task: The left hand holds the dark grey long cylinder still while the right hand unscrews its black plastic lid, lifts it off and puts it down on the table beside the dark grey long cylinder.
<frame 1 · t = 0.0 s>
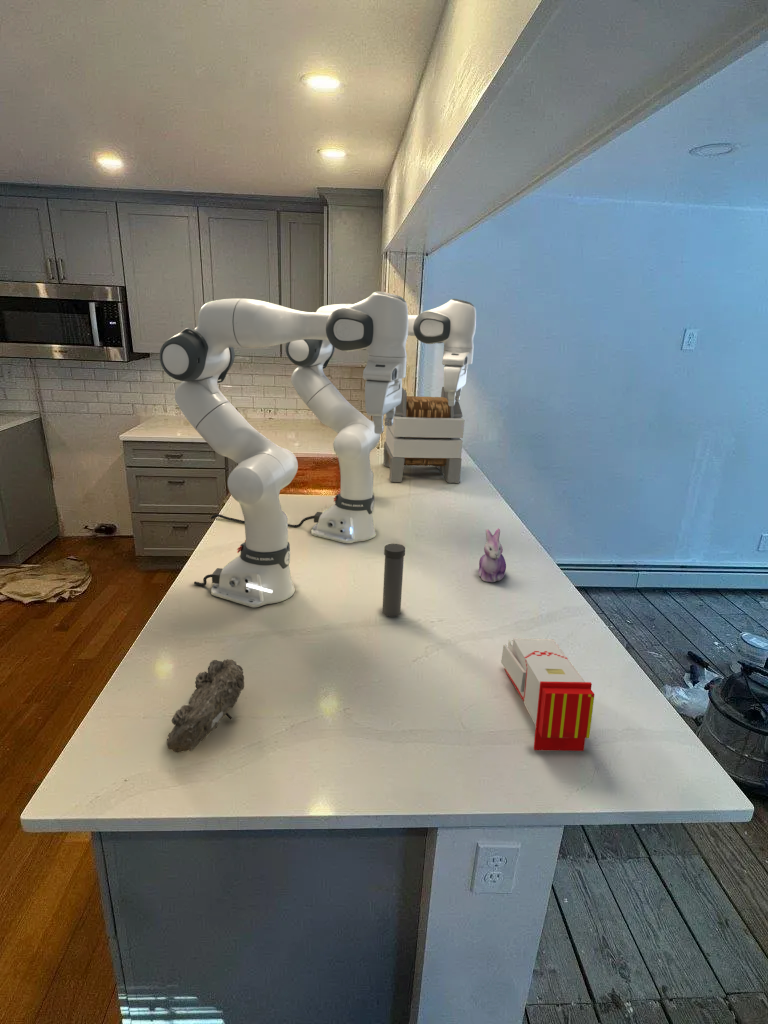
left hand: (383, 429, 133), 48 cm above the counter, tool pointing down, fingers open, 8 cm apart
right hand: (454, 403, 174), 48 cm above the counter, tool pointing down, fingers open, 8 cm apart
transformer: (419, 473, 275), on the counter
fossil: (212, 717, 108), on the counter
lid: (394, 548, 142), point 18 cm above the counter, screwed on, not yet turned
toy: (537, 702, 116), on the counter
dark grey long cylinder: (391, 612, 148), on the counter
figurine: (491, 576, 171), on the counter
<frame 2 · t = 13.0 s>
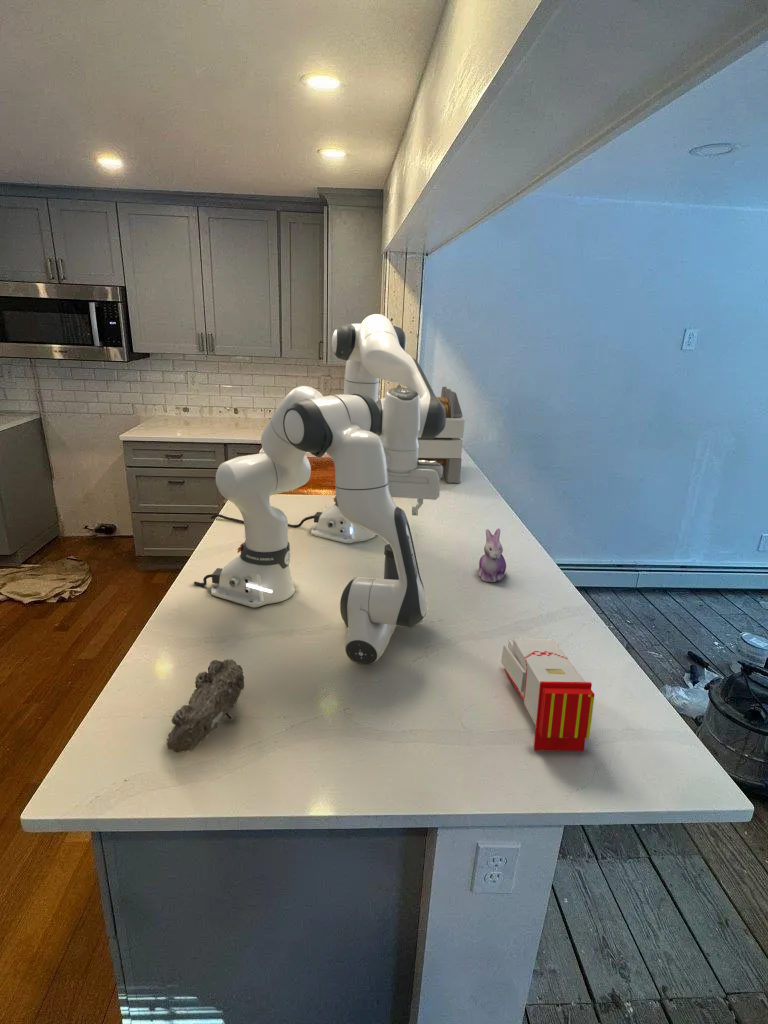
left hand: (393, 591, 147), 6 cm above the counter, tool horizontal, fingers closed on dark grey long cylinder, 5 cm apart
right hand: (396, 513, 139), 27 cm above the counter, tool pointing down, fingers open, 7 cm apart
dark grey long cylinder: (391, 612, 148), on the counter, touching left hand
everything else where it was.
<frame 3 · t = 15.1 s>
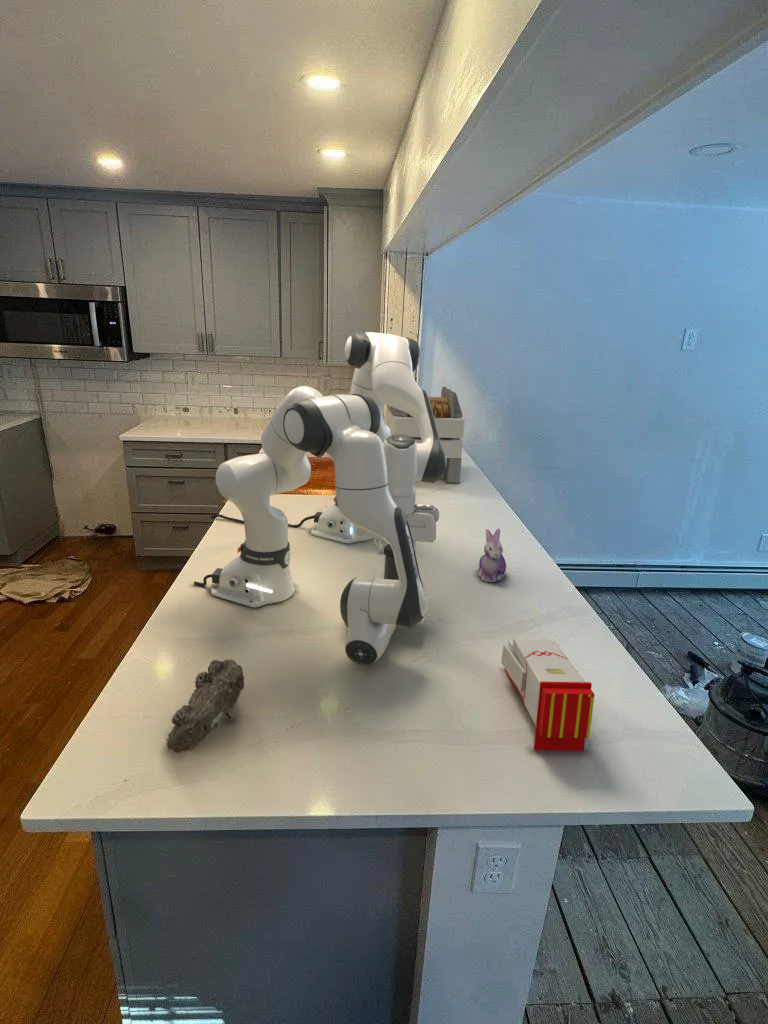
left hand: (393, 591, 147), 6 cm above the counter, tool horizontal, fingers closed on dark grey long cylinder, 5 cm apart
right hand: (394, 554, 143), 16 cm above the counter, tool pointing down, fingers closed on lid, 5 cm apart
lid: (394, 548, 142), point 18 cm above the counter, screwed on, not yet turned, touching right hand
dark grey long cylinder: (391, 612, 148), on the counter, touching left hand
everything else where it was.
when the right hand's fingers open (17 cm above the counter, at t = 16.6 s): lid stays where it is, point 18 cm above the counter.
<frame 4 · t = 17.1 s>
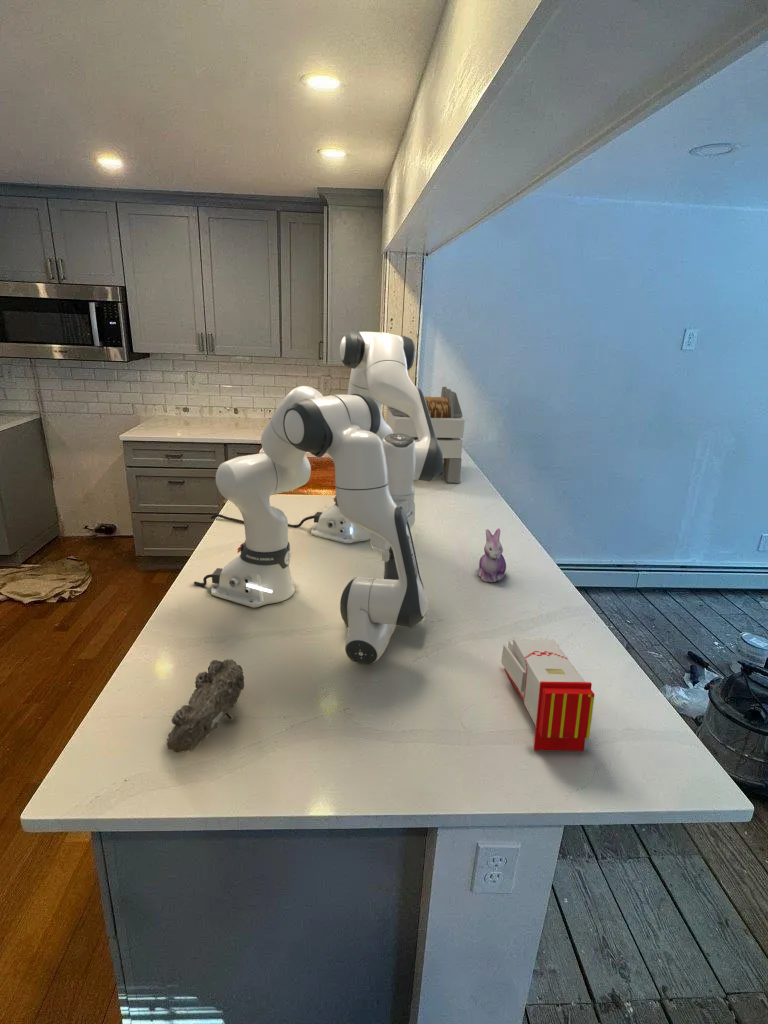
left hand: (393, 591, 147), 6 cm above the counter, tool horizontal, fingers closed on dark grey long cylinder, 5 cm apart
right hand: (393, 553, 142), 17 cm above the counter, tool pointing down, fingers open, 7 cm apart
lid: (394, 547, 142), point 18 cm above the counter, turned 94° so far, risen 0.3 cm, still on its thread
dark grey long cylinder: (391, 612, 148), on the counter, touching left hand
everything else where it was.
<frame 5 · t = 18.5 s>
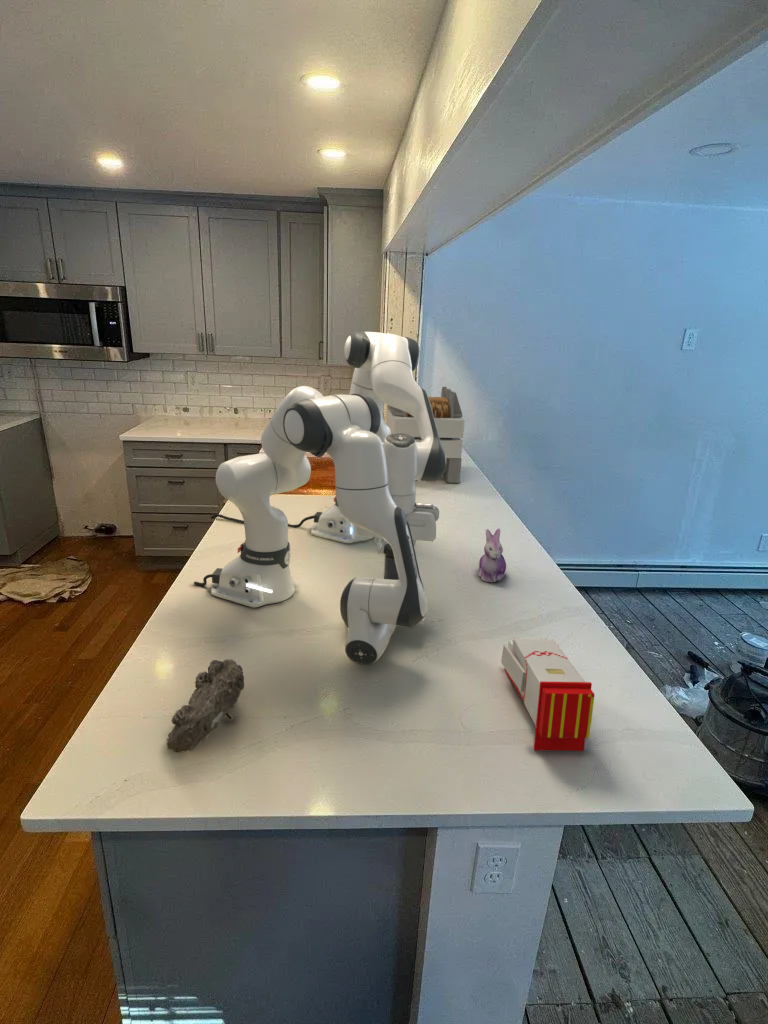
left hand: (392, 591, 147), 6 cm above the counter, tool horizontal, fingers closed on dark grey long cylinder, 5 cm apart
right hand: (394, 553, 143), 17 cm above the counter, tool pointing down, fingers closed on lid, 5 cm apart
lid: (394, 547, 142), point 18 cm above the counter, turned 94° so far, risen 0.3 cm, still on its thread, touching right hand
dark grey long cylinder: (391, 612, 148), on the counter, touching left hand
everything else where it was.
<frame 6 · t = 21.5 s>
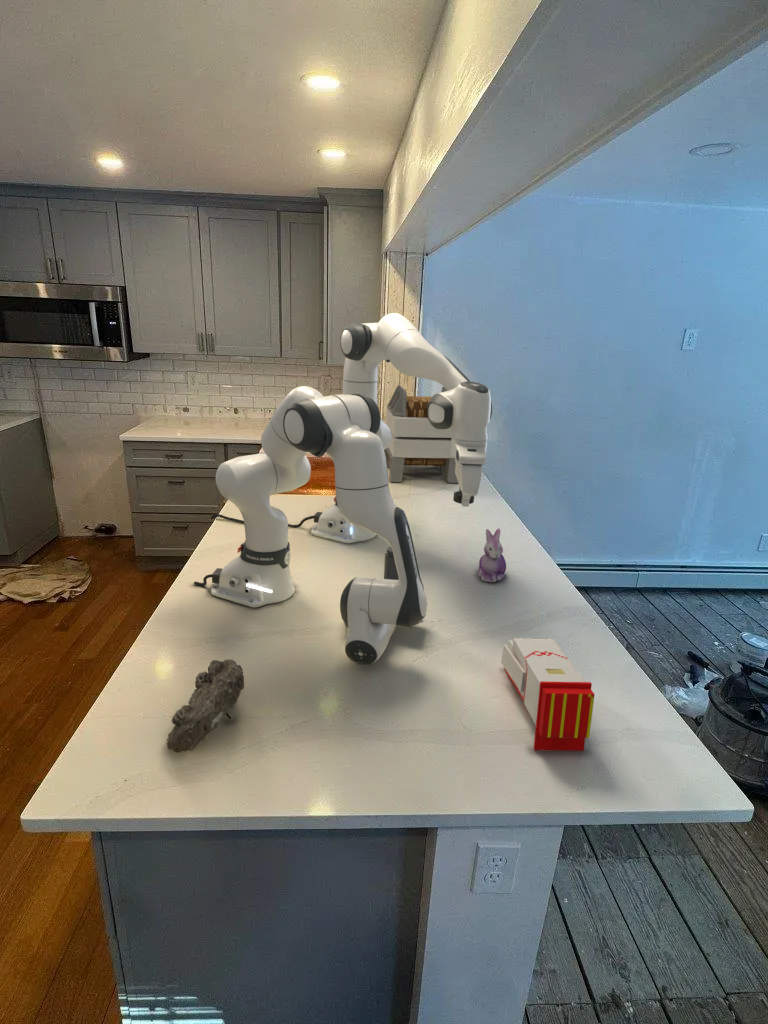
left hand: (392, 591, 147), 6 cm above the counter, tool horizontal, fingers closed on dark grey long cylinder, 5 cm apart
right hand: (463, 501, 146), 29 cm above the counter, tool pointing down, fingers closed on lid, 5 cm apart
lid: (464, 495, 146), point 30 cm above the counter, off its thread, touching right hand
dark grey long cylinder: (391, 612, 148), on the counter, touching left hand
everything else where it was.
when the right hand's fingers open (2 cm above the counter, at t = 24.6 s): lid drops 2 cm, point 1 cm above the counter.
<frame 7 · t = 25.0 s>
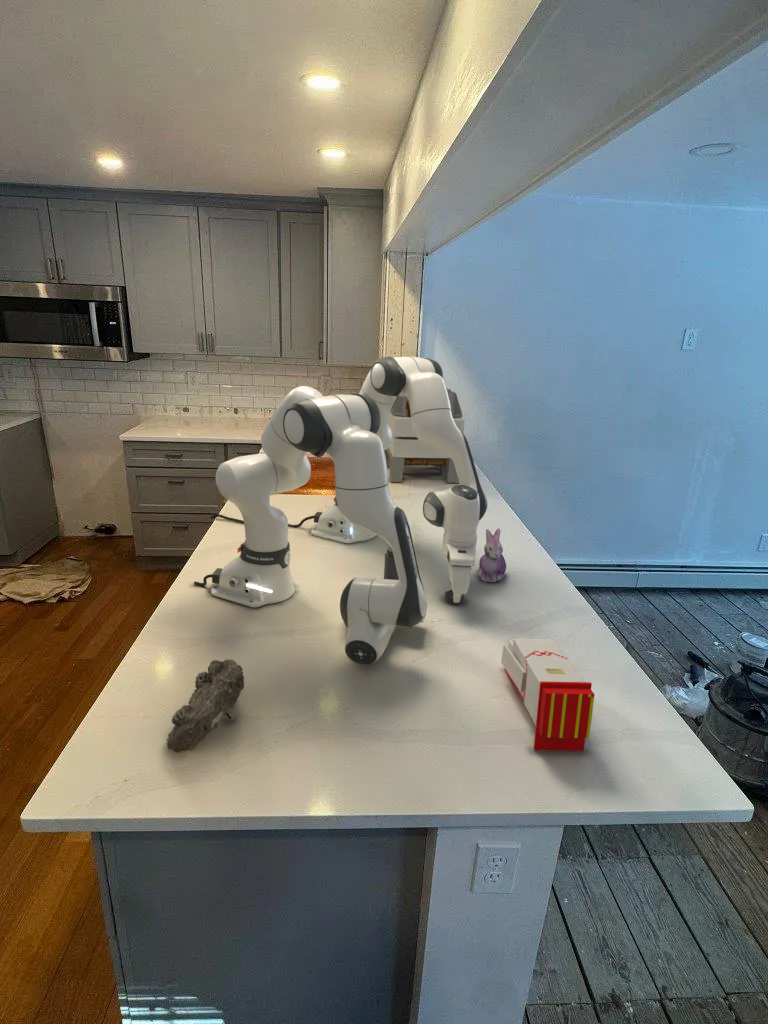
left hand: (392, 591, 147), 6 cm above the counter, tool horizontal, fingers closed on dark grey long cylinder, 5 cm apart
right hand: (454, 593, 155), 2 cm above the counter, tool pointing down, fingers open, 8 cm apart
lid: (454, 595, 155), point 1 cm above the counter, off its thread
dark grey long cylinder: (391, 612, 148), on the counter, touching left hand
everything else where it was.
when the left hand's fingers open (6 cm above the counter, at t = 25.6 s): dark grey long cylinder stays where it is, on the counter.
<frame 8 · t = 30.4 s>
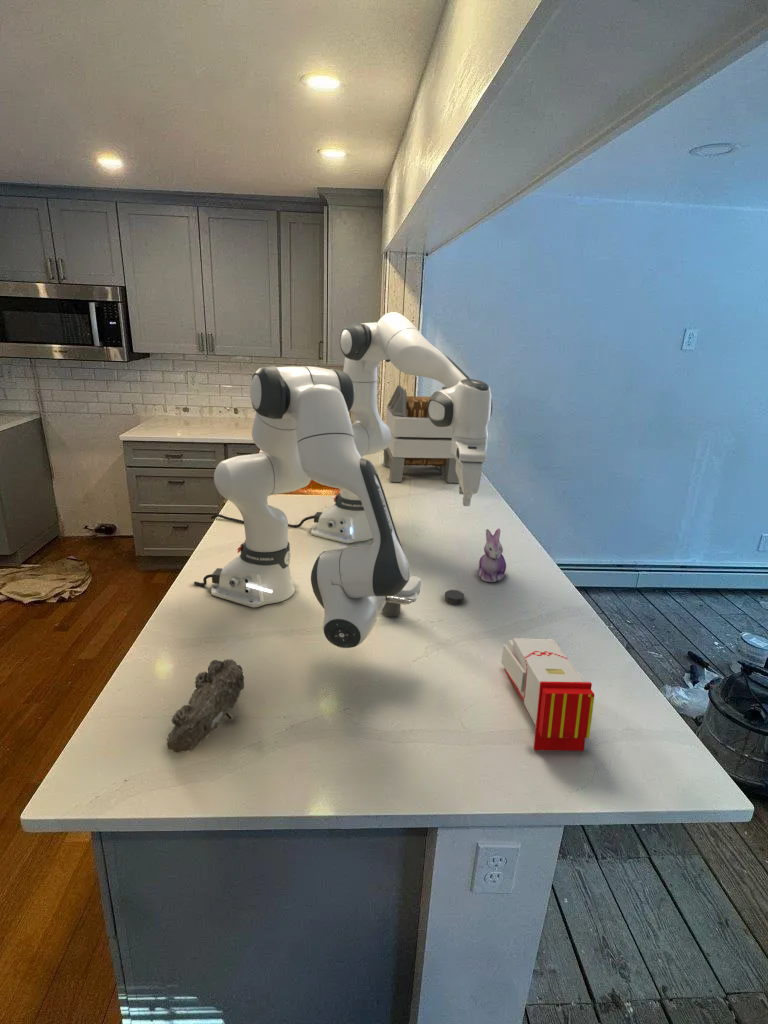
left hand: (382, 568, 130), 18 cm above the counter, tool horizontal, fingers open, 8 cm apart
right hand: (464, 499, 146), 29 cm above the counter, tool pointing down, fingers open, 8 cm apart
dark grey long cylinder: (391, 612, 148), on the counter
everything else where it was.
at the end: lid came off its thread; lid point 1.5 cm above the counter; the left hand is holding nothing; the right hand is holding nothing; dark grey long cylinder tilted 0°; dark grey long cylinder moved 0.1 cm from its start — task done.
